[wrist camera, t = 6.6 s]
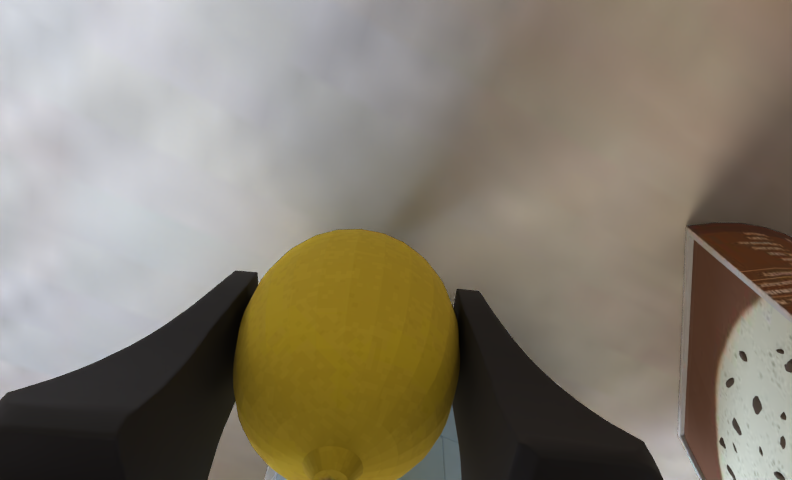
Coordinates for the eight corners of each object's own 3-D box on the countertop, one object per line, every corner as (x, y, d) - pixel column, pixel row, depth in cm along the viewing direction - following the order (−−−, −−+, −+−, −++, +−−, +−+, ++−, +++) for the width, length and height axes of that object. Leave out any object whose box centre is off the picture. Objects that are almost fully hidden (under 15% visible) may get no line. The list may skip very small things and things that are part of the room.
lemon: (479, 223, 17) (530, 433, 10) (407, 352, 19) (405, 593, 12) (306, 155, 16) (223, 333, 9) (254, 300, 18) (157, 529, 11)
